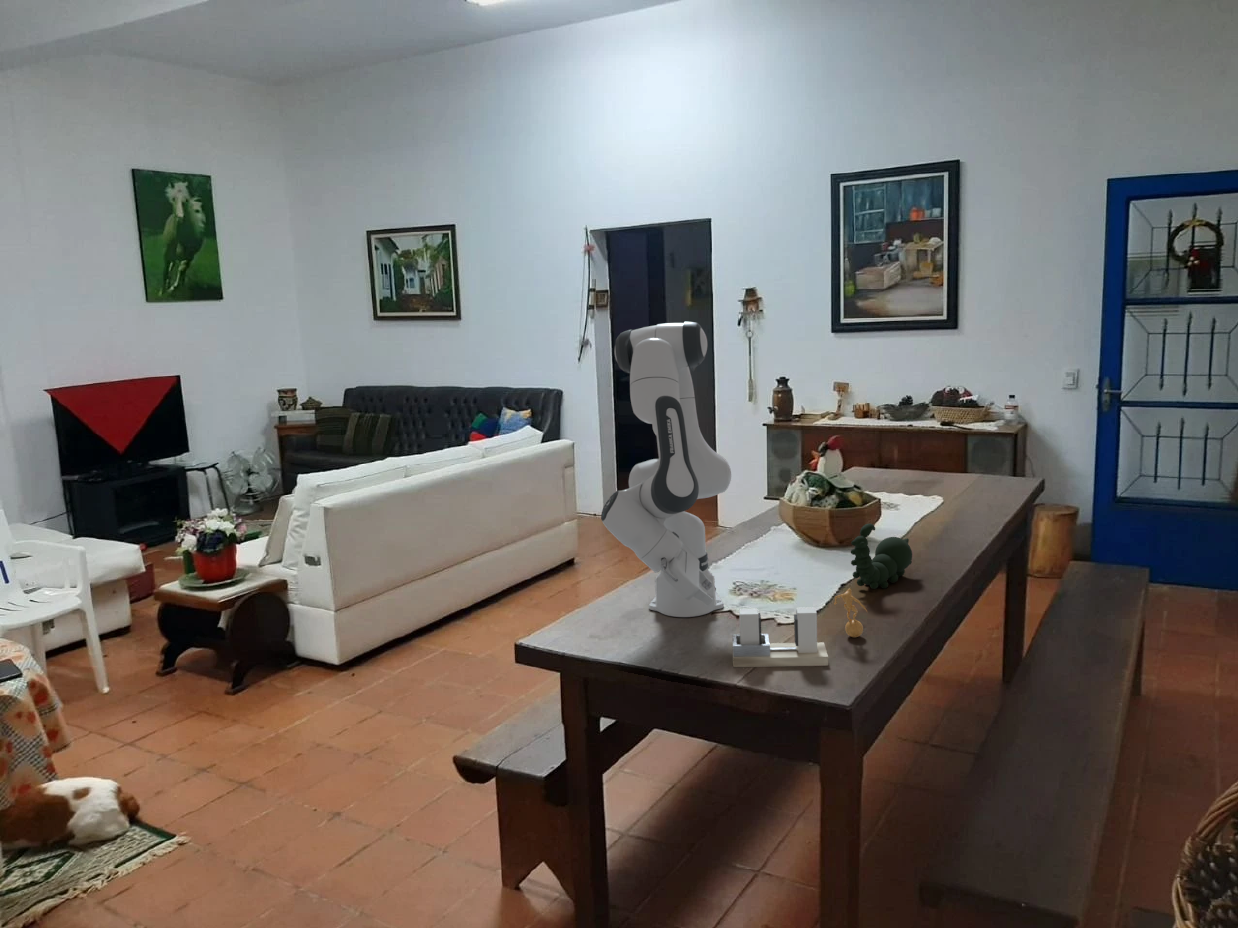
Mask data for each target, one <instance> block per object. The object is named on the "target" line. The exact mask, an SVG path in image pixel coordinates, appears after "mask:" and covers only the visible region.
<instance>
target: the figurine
mask: <svg viewBox="0 0 1238 928" xmlns="http://www.w3.org/2000/svg"><path fill="white" fill-rule="evenodd" d="M852 591H853V590H852V589H851V588H847V590H846V591H845V592H844V593H841V594H838V595H836V596H834V601H833V604H834V605H833V606H836V605H837V604H838V602H837V599H841V598H842V601H843V602H844V604H843V607H844V609H845V610H846V612H847V613H846V617H847V618H846V619H848V621H847V622H846V624H845V627H844V628H845V632H846V634H847V635H848V636H849V637H851V638H859V637H860V636H861V635H862V634H863V632H864V626H863V624H862V623H861V621H859V620H857V619H856V617H857V614H858V613H859V611H858V609H857V608H856V605H854V604H853V601H854V602H856V603H857V604H859V606H860V607H861V608H862V609H864V610H865V611H866V613H868V610H867V608H866V606H865V605H864V604H863V603H861V601H860V600H859V599H857V598H856V597H855V596H853V594H852ZM851 611H852V612H854V613H853V615H852V618H851V617H850V615H851Z"/></svg>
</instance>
